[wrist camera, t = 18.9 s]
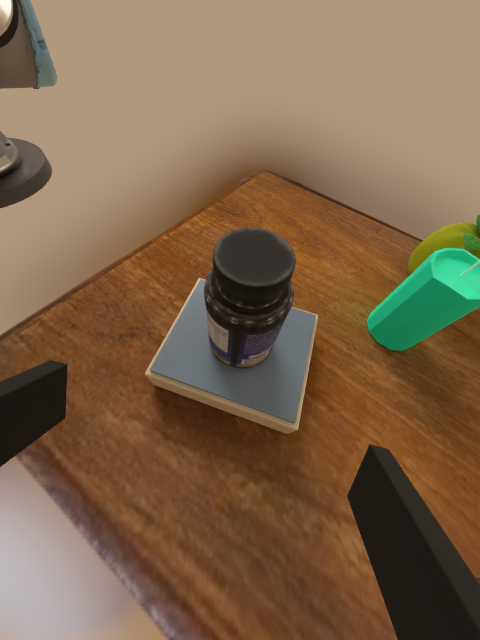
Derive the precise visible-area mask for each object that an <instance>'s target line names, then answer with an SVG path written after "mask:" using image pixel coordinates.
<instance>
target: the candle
mask: <svg viewBox="0 0 480 640" xmlns="http://www.w3.org/2000/svg"><path fill="white" fill-rule="evenodd" d="M479 307H480V260H479V259H478V258H477V257H475V256H474V255H472V254H471V253H469V252H468V251H466V250H464V249H458V248H444V249H441V250H437V251H435V252H434V253H432V254H431V255H430V256H429V257H428V258H427V259H426V260H425V261H424V262H423V263H422V264H421V265H420V266H419V267H418V268H417V269H416V270H415V271H414V272H413V273H412V274H411V275H410V276H409V277H408V278H406V279H405V280H404V281H403V282H402V283H401V284H400V285H399V286H398V287H397V288H396V289H395V290H394V291H393V292H392V293H391V294H390V295H389V296H388V297H387V298H386V299H385V300H384V301H383V302H382V303H380V304H379V305H378V306H377V307H376V308H375V309H374V310H373V311H372V312H371V313H370V315H369V317H368V319H367V325H368V330H369V332H370V334H371V335H372V336H373V337H374V339H375V340H376V341H377V342H378V343H380V344H381V345H383V346H385V347H387V348H388V349H391V350H399V351H403V350H405V349H408V348H410V347H412V346H413V345H415V344H417V343H419V342H420V341H422V340H424V339H425V338H427V337H429V336H431V335H432V334H434V333H436V332H437V331H439V330H441V329H443V328H444V327H446V326H448V325H449V324H451V323H453V322H455V321H456V320H458V319H460V318H462V317H463V316H465V315H467V314H468V313H470V312H472V311H474V310H475V309H477V308H479Z"/></svg>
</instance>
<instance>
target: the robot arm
mask: <svg viewBox="0 0 480 640" xmlns="http://www.w3.org/2000/svg"><path fill="white" fill-rule="evenodd" d="M56 82H57V75H56V71H55V68H54V65H53V62H52V59H51V57H50V54H49V51H48V48H47V46H46V43H45V40H44V37H43V34H42V31H41V28H40V25H39V23H38V20H37V17H36V14H35V12H34V9H33V6H32V3H31V0H0V88H27V87H33V88H34V89H39V88H40V87H47V86H53V85H55V84H56ZM21 163H22V156H21V154H20V153H19V151H18V150H17V148H16V147H15V145H14V144H13V143H12V142H11V141H10V140H9V139H8V138H7V137H6V136H5V135H4V134H2V132H1V131H0V179H2V178H4V177H6V176H8V175H10V174H11V173H13V172H14V171H15V170H16V169H18V167H19V166H20V165H21ZM66 384H67V364H64V363H60V362H56V361H52V360H50V361H48V362H45V363H43V364H41V365H39V366H36V367H34V368H32V369H29V370H27V371H25V372H22V373H20V374H18V375H16V376H13V377H11V378H9V379H6V380H4V381H2V382H0V467H1V466H2V465H3V464H5V463H6V462H7V461H9V460H10V459H11V458H13V457H14V456H15V455H17V454H18V453H19V452H21V451H22V450H23V449H25V448H26V447H27V446H29V445H30V444H31V443H33V442H34V441H35V440H37V439H38V438H39V437H41V436H42V435H43V434H45V433H46V432H47V431H49V430H50V429H51V428H53V427H54V426H55V425H57V424H58V423H59V422H61V421H62V420H63V419H64V418H65V411H66ZM347 497H348V500H349V503H350V505H351V508H352V511H353V514H354V517H355V520H356V522H357V525H358V528H359V531H360V534H361V537H362V539H363V542H364V545H365V548H366V551H367V553H368V556H369V559H370V562H371V565H372V568H373V570H374V573H375V576H376V579H377V582H378V584H379V587H380V590H381V593H382V596H383V599H384V601H385V604H386V607H387V610H388V613H389V615H390V618H391V621H392V624H393V627H394V630H395V632H396V635H397V638H398V640H480V579H479V578H475V577H474V575H473V574H472V572H471V571H470V569H469V568H468V566H467V565H466V563H465V562H464V560H463V559H462V557H461V556H460V554H459V553H458V551H457V550H456V548H455V547H454V546H453V544H452V543H451V541H450V540H449V538H448V537H447V535H446V534H445V532H444V531H443V529H442V528H441V526H440V525H439V523H438V522H437V520H436V519H435V517H434V516H433V514H432V513H431V511H430V510H429V508H428V507H427V505H426V504H425V502H424V501H423V499H422V498H421V496H420V495H419V494H418V492H417V491H416V489H415V488H414V486H413V485H412V483H411V482H410V480H409V479H408V477H407V476H406V474H405V473H404V471H403V470H402V468H401V467H400V465H399V464H398V462H397V461H396V459H395V458H394V456H393V455H392V453H391V452H390V450H389V449H386V448H382V447H378V446H374V445H369V447H368V449H367V452H366V454H365V456H364V459H363V461H362V463H361V466H360V468H359V470H358V472H357V475H356V477H355V479H354V482H353V484H352V486H351V489H350V491H349V493H348V496H347Z"/></svg>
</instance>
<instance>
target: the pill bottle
mask: <svg viewBox="0 0 480 640" xmlns="http://www.w3.org/2000/svg"><path fill="white" fill-rule="evenodd" d="M295 263H296V259H295V253H294V251H293V249H292V247H291V246H290V245H289V243H288V242H287V241H286V240H285V239H284V238H282V237H281V236H279V235H278V234H276V233H274V232H271V231H268V230H265V229H261V228H241V229H237V230H233V231H231V232H230V233H227V234H225V235H224V236H223V237H222V238H220V239H219V241H218V242H217V244H216V245H215V248H214V252H213V269H212V270H211V271H210V273H209V275H208V276H207V279H206V282H205V286H204V298H205V307H206V316H207V325H208V334H209V343H210V347H211V349H212V351H213V353H214V355H215V356H216V358H217V359H219V360H220V361H221V362H223V363H224V364H226V365H229V366H231V367H235V368H240V369H241V368H250V367H254V366H256V365H258V364H260V363H261V362H263V361H264V360H265V359H266V358H267V357H268V356H269V354H270V353H271V350H272V348H273V346H274V343H275V341H276V339H277V337H278V335H279V333H280V330H281V328H282V326H283V324H284V322H285V319H286V317H287V315H288V313H289V311H290V309H291V306H292V303H293V296H294V293H293V286H292V283H291V281H290V280H291V277H292V274H293V271H294V268H295Z"/></svg>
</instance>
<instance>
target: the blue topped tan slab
mask: <svg viewBox="0 0 480 640" xmlns="http://www.w3.org/2000/svg"><path fill="white" fill-rule="evenodd" d="M205 282H206V280H204V279H200V278H199V279H198V281H197V283H196V284H195V286H194V288H193V290H192V292H191V293H190V295H189V297H188V299H187V300H186V302H185V304H184V306H183V307H182V309H181V311H180V313H179V314H178V316H177V318H176V320H175V321H174V323H173V325H172V327H171V328H170V330H169V332H168V334H167V335H166V337H165V339H164V341H163V342H162V344H161V346H160V348H159V349H158V351H157V353H156V355H155V357H154V358H153V360H152V362H151V364H150V365H149V367H148V369H147V371H146V372H145V375H146V376H147V377H148V379H149V380H150V381H151V382H152V383H153V384H154V385H155V386H158V387H161V388H163V389H166V390H169V391H172V392H174V393H177V394H180V395H182V396H185V397H188V398H191V399H193V400H196V401H199V402H201V403H204V404H207V405H209V406H212V407H215V408H218V409H220V410H223V411H226V412H228V413H231V414H234V415H237V416H239V417H242V418H245V419H247V420H250V421H253V422H255V423H258V424H261V425H264V426H266V427H269V428H272V429H274V430H277V431H280V432H283V433H285V434H288V433H291V432H294V431H297V430H298V427H299V421H300V415H301V410H302V404H303V399H304V393H305V387H306V382H307V376H308V371H309V365H310V360H311V354H312V348H313V343H314V337H315V332H316V326H317V320H318V315H316V314H313V313H310V312H306V311H303V310H300V309H297V308H294V307H291V309H290V311H289V313H288V315H287V317H286V319H285V322H284V324H283V326H282V328H281V330H280V333H279V335H278V337H277V339H276V341H275V343H274V346H273V348H272V350H271V353H270V354H269V356H268V357H267V358H266V359H265V360H264V361H263V362H261V363H260V364H258V365H256V366H254V367H250V368H241V369H240V368H235V367H231V366H229V365H226V364H224V363H223V362H221V361H220V360H219V359H217V358H216V356H215V355H214V353H213V351H212V349H211V347H210V343H209V334H208V325H207V316H206V307H205V298H204V286H205Z"/></svg>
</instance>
